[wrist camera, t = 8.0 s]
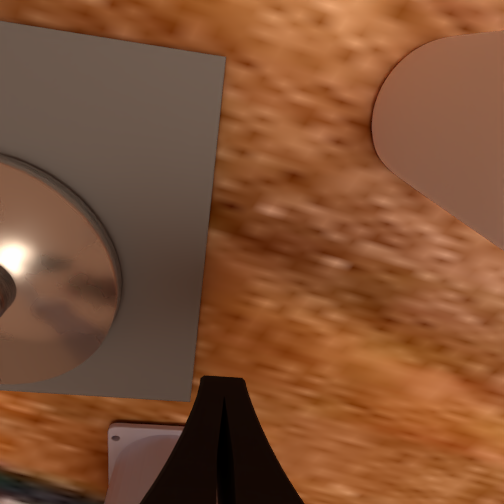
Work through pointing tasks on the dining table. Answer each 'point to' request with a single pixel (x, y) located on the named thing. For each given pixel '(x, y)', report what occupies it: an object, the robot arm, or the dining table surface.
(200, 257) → the dial board
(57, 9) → the dining table surface
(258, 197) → the dining table surface
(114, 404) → the dining table surface
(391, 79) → the can
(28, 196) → the dial
